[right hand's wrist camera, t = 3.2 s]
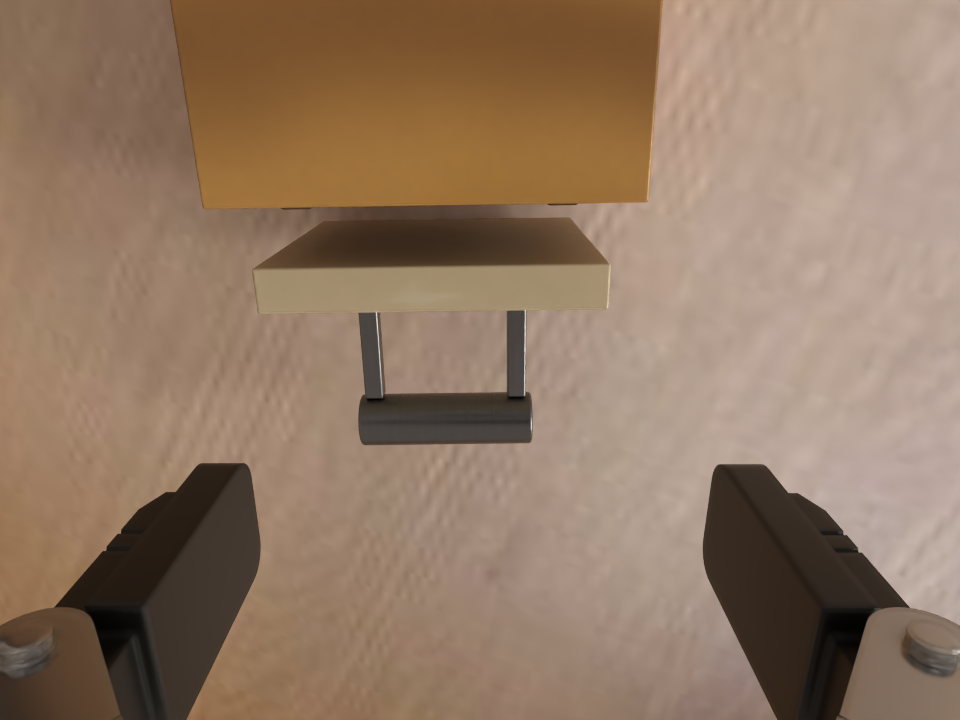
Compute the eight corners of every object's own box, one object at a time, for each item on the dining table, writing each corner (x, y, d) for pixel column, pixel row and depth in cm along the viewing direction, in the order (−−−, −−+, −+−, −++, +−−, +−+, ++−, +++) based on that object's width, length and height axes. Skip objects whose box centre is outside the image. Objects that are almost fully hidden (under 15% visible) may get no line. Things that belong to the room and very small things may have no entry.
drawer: (565, 393, 26) (598, 503, 19) (339, 396, 26) (284, 507, 19) (588, -368, 18) (663, -700, 11) (266, -361, 19) (120, -686, 11)
